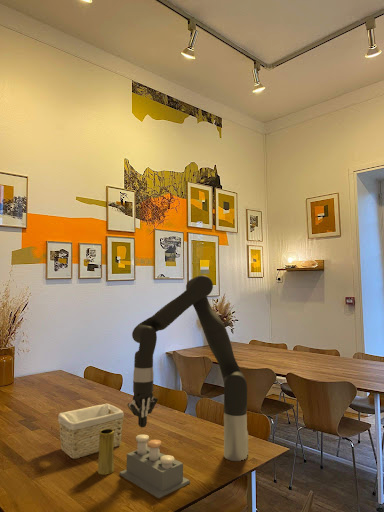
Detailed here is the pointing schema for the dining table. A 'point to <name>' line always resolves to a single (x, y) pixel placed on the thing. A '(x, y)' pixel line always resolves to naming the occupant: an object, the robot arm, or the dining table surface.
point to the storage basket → (88, 429)
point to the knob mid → (154, 450)
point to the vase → (106, 452)
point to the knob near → (167, 461)
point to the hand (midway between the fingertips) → (142, 426)
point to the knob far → (142, 444)
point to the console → (154, 474)
